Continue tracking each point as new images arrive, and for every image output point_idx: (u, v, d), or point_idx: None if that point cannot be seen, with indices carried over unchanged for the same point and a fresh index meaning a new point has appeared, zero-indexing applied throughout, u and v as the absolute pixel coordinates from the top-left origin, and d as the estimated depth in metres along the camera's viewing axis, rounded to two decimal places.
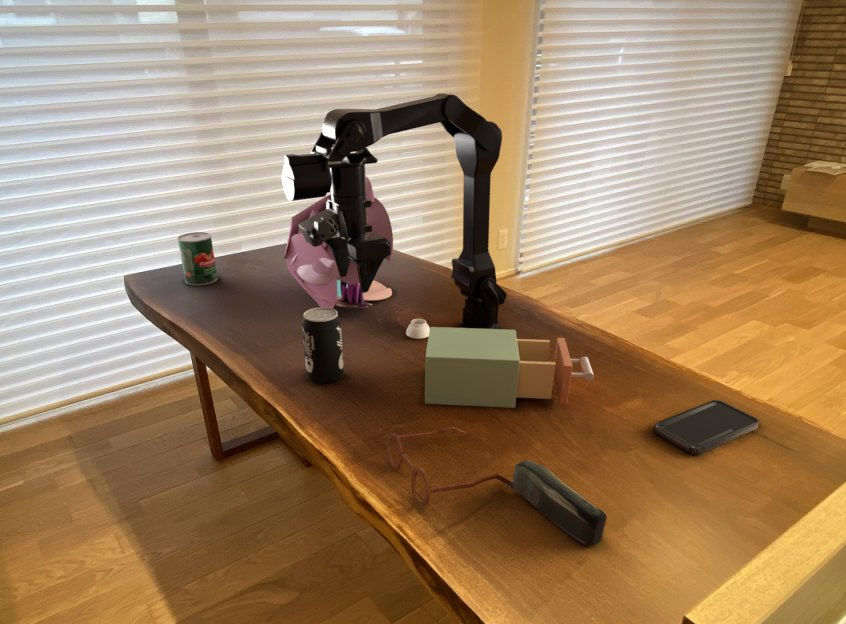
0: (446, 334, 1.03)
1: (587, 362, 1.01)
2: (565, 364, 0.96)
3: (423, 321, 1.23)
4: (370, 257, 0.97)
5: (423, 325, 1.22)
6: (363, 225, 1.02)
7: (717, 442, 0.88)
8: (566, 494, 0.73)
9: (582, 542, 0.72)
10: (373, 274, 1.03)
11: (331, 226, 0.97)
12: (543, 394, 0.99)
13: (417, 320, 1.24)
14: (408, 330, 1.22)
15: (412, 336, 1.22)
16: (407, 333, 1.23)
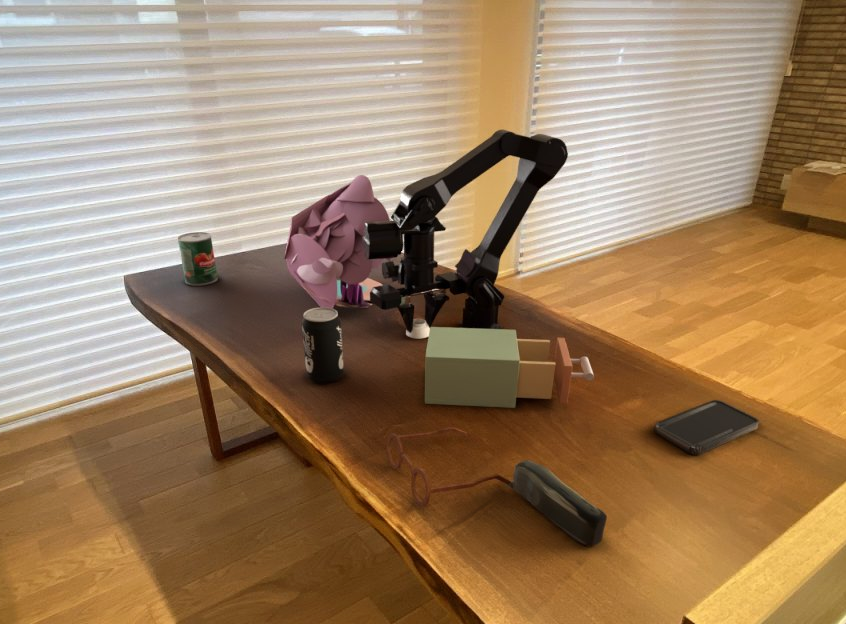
0: (446, 334, 1.03)
1: (587, 362, 1.01)
2: (565, 364, 0.96)
3: (423, 321, 1.23)
4: (373, 302, 1.16)
5: (423, 325, 1.22)
6: (410, 283, 1.16)
7: (717, 442, 0.88)
8: (566, 495, 0.73)
9: (582, 542, 0.72)
10: (407, 320, 1.19)
11: (386, 269, 1.20)
12: (543, 394, 0.99)
13: (417, 320, 1.24)
14: None
15: (412, 336, 1.22)
16: (407, 333, 1.23)
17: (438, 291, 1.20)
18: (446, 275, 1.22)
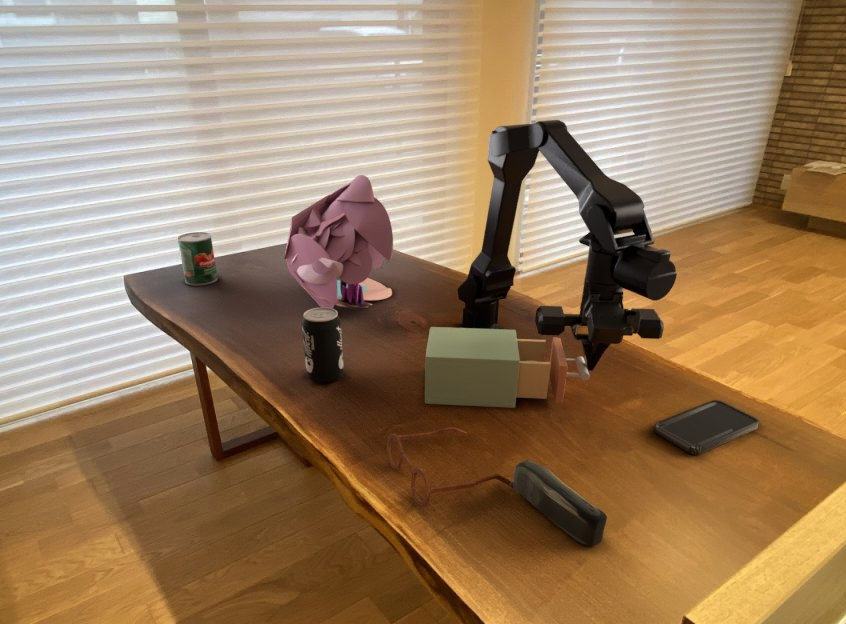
0: (446, 334, 1.03)
1: (583, 362, 1.01)
2: (560, 364, 0.96)
3: None
4: None
5: None
6: None
7: (717, 442, 0.88)
8: (567, 495, 0.73)
9: (582, 543, 0.72)
10: None
11: None
12: (539, 394, 0.99)
13: None
14: None
15: None
16: None
17: None
18: (554, 313, 0.96)
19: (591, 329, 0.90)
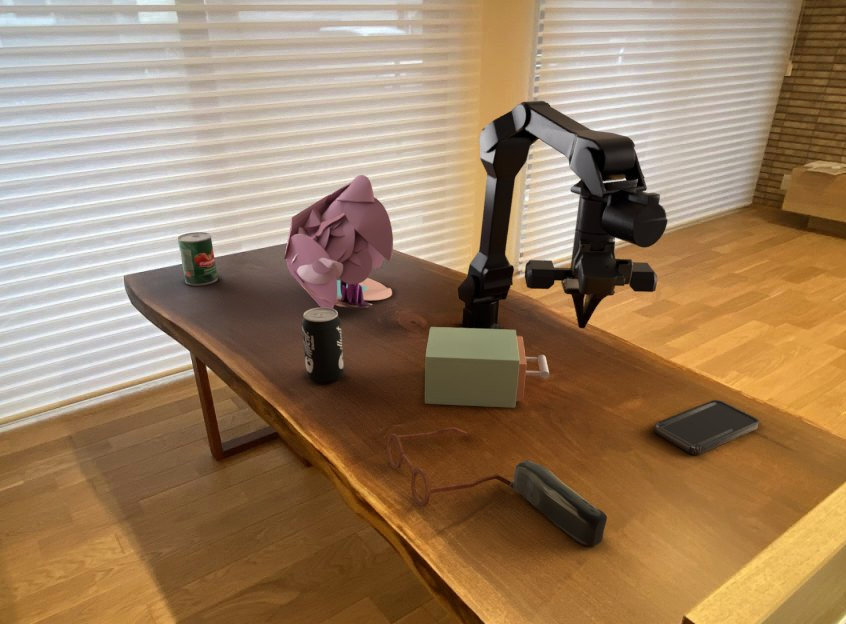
0: (446, 334, 1.03)
1: (544, 361, 1.02)
2: (519, 362, 0.96)
3: None
4: None
5: None
6: None
7: (717, 442, 0.88)
8: (567, 495, 0.73)
9: (582, 543, 0.72)
10: None
11: None
12: None
13: None
14: None
15: None
16: None
17: None
18: (544, 266, 0.92)
19: (581, 279, 0.86)
